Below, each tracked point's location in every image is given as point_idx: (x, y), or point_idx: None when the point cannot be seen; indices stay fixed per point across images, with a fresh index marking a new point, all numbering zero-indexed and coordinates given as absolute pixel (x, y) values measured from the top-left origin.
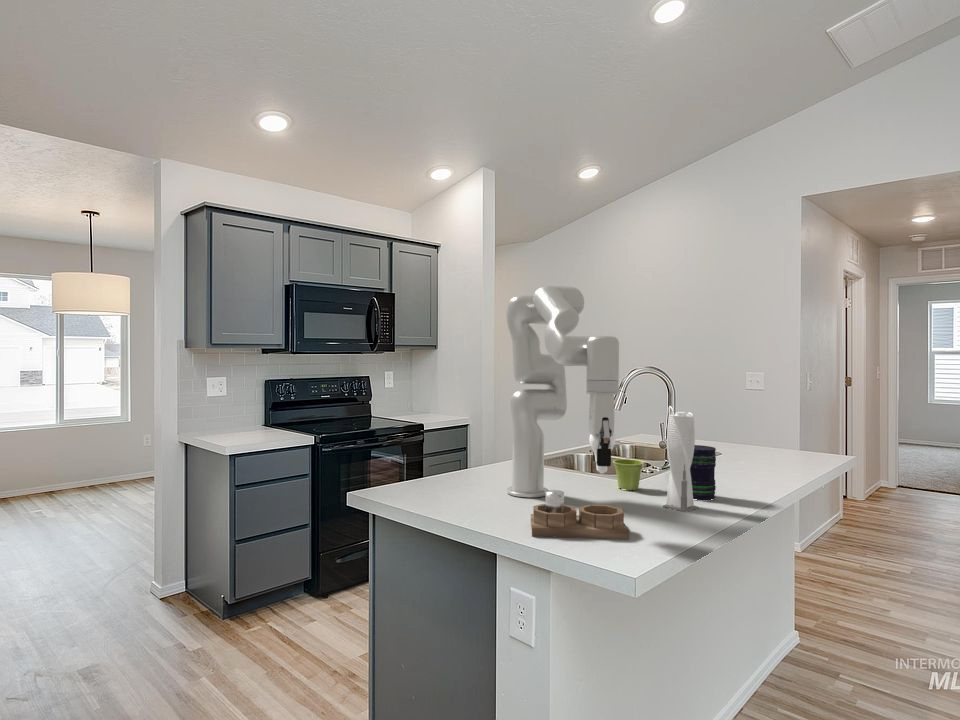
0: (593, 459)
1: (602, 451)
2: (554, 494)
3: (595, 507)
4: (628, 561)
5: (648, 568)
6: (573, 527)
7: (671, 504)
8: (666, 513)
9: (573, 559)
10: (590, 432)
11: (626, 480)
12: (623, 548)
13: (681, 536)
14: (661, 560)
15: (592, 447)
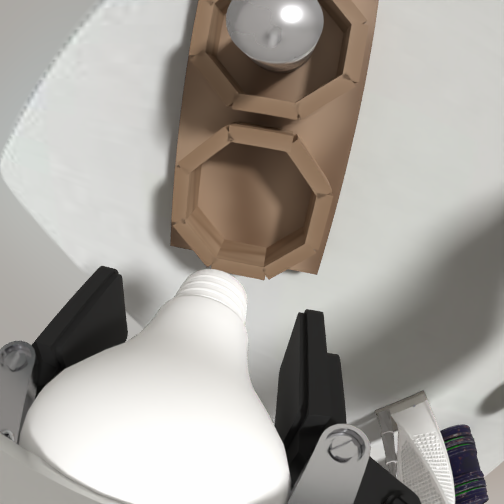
0: (307, 314)
1: (36, 349)
2: (229, 9)
3: (312, 207)
4: (44, 182)
5: (24, 206)
6: (199, 89)
7: (415, 406)
8: (380, 384)
9: (47, 73)
10: (54, 499)
11: None
12: (111, 197)
13: None
14: (59, 245)
15: (120, 350)
